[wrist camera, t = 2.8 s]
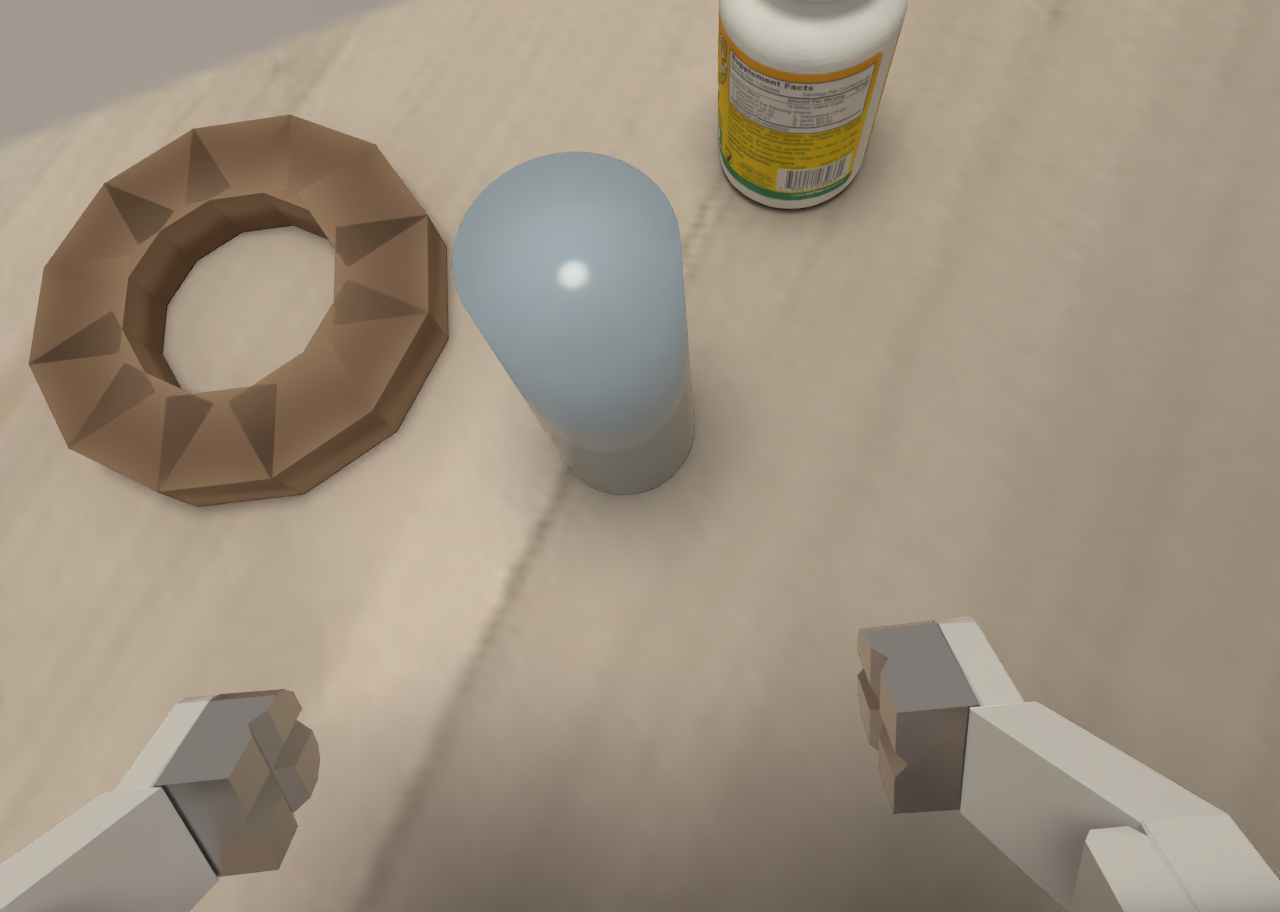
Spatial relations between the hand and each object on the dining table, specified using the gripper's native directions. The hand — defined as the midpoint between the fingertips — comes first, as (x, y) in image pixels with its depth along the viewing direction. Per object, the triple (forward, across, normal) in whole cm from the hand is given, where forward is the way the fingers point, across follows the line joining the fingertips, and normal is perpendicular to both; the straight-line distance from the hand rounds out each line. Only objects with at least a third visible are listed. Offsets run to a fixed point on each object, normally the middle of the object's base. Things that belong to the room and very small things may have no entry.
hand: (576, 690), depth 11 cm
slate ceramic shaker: (+15, 0, +3) cm, 15 cm away
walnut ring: (+19, +13, -1) cm, 23 cm away
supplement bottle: (+22, -7, -4) cm, 24 cm away
